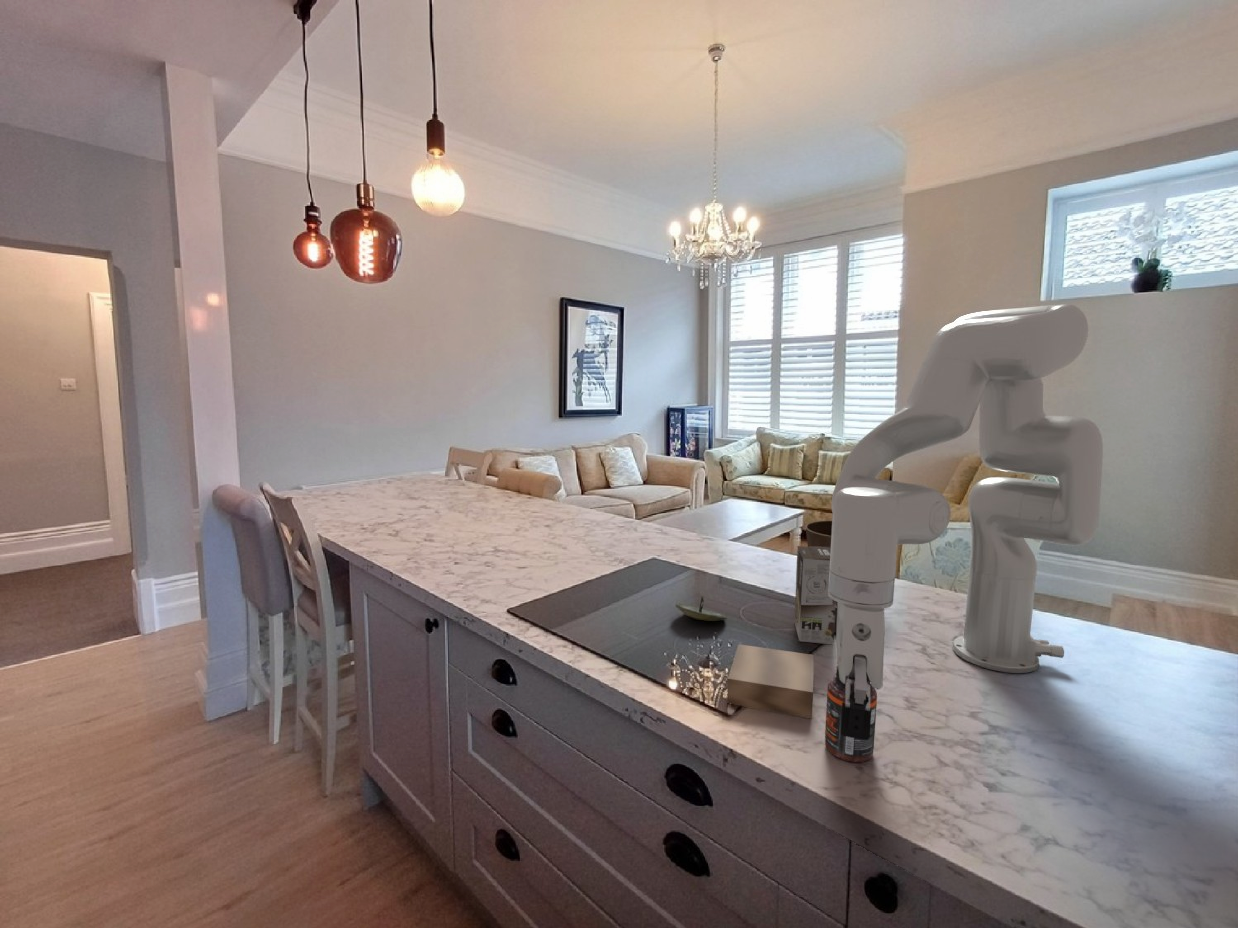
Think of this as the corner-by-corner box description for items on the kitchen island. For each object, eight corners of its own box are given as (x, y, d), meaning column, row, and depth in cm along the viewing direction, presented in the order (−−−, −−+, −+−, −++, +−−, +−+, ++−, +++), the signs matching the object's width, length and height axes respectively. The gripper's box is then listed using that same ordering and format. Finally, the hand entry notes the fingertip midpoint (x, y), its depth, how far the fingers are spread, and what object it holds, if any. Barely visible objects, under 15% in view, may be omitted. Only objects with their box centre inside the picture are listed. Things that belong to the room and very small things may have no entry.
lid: (665, 622, 115) (665, 598, 114) (691, 607, 123) (692, 585, 122) (710, 636, 108) (711, 611, 108) (735, 620, 116) (736, 596, 115)
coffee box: (835, 645, 105) (839, 560, 102) (798, 642, 106) (801, 557, 104) (827, 624, 113) (831, 546, 111) (793, 622, 115) (796, 544, 113)
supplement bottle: (816, 737, 77) (820, 658, 76) (859, 734, 78) (863, 656, 76) (837, 766, 71) (841, 681, 70) (882, 763, 72) (888, 679, 70)
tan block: (812, 678, 93) (813, 654, 92) (811, 718, 82) (812, 692, 81) (737, 666, 97) (738, 644, 96) (727, 703, 85) (727, 678, 85)
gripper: (903, 616, 62) (892, 762, 64) (885, 570, 78) (877, 687, 80) (830, 607, 64) (821, 748, 67) (827, 564, 81) (821, 678, 83)
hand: (852, 715), depth 73 cm, fingers open, 9 cm apart
